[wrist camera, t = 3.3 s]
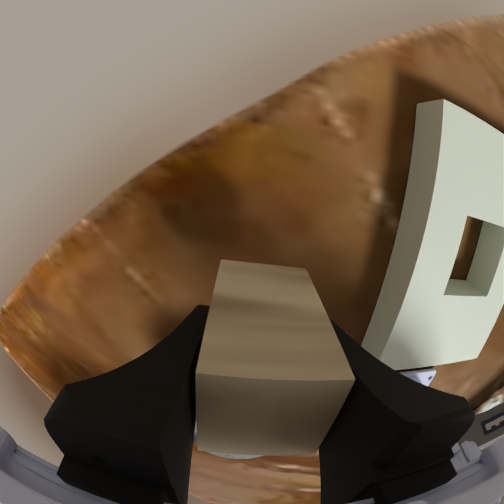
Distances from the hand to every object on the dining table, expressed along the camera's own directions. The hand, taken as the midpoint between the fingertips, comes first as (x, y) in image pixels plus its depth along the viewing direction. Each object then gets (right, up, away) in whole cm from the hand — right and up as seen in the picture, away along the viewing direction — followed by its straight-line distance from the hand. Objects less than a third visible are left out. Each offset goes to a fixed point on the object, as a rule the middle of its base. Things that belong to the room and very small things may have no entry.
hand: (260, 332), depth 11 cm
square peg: (0, +1, +2) cm, 2 cm away
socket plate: (+15, +4, +6) cm, 17 cm away
